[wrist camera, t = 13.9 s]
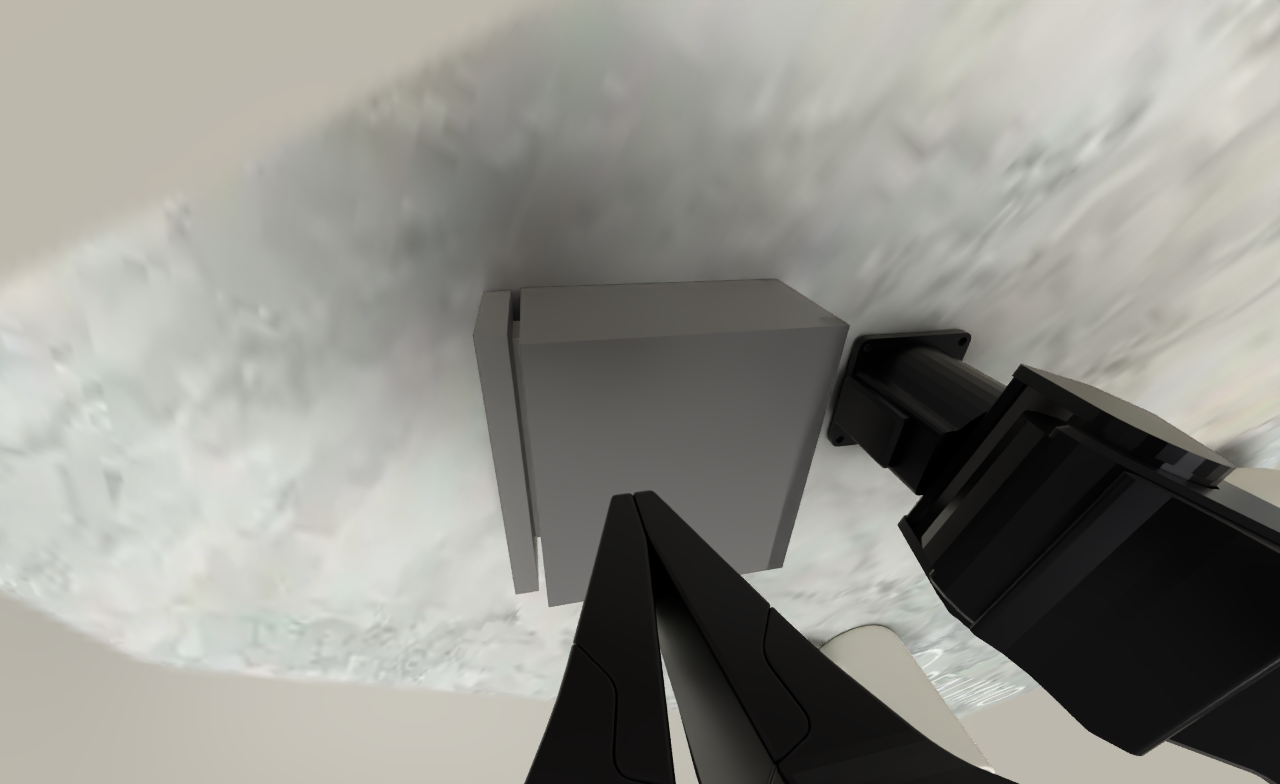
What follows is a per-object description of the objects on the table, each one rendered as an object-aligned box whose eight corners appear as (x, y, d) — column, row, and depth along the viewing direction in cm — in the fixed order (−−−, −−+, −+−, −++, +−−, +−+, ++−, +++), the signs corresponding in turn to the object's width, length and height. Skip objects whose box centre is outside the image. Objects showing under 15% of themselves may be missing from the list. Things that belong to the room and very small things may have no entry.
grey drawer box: (777, 278, 20) (849, 325, 16) (738, 490, 27) (782, 567, 22) (520, 287, 18) (519, 344, 14) (544, 516, 24) (548, 607, 20)
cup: (843, 686, 43) (922, 827, 34) (758, 665, 38) (827, 826, 29) (911, 633, 40) (1014, 771, 32) (831, 603, 35) (929, 759, 26)
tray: (754, 281, 20) (804, 317, 16) (720, 496, 26) (751, 556, 23) (483, 291, 18) (472, 335, 14) (517, 524, 24) (515, 594, 20)
